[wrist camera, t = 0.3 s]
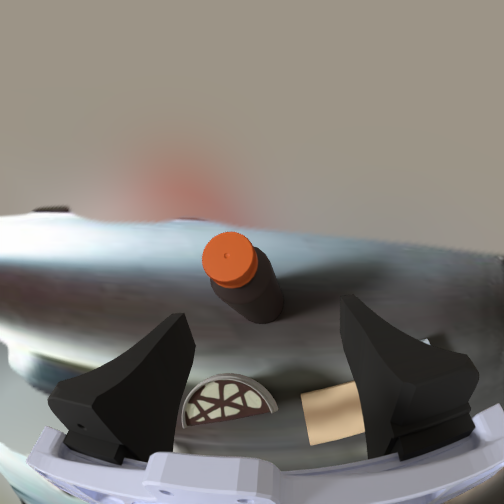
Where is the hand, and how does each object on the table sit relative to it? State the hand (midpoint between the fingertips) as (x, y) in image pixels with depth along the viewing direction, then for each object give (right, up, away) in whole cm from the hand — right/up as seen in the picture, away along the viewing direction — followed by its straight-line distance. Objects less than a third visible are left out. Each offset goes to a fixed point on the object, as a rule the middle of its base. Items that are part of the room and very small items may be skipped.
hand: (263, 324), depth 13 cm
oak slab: (+11, -20, +23) cm, 33 cm away
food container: (-2, -18, +27) cm, 32 cm away
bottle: (+1, -5, +31) cm, 32 cm away
